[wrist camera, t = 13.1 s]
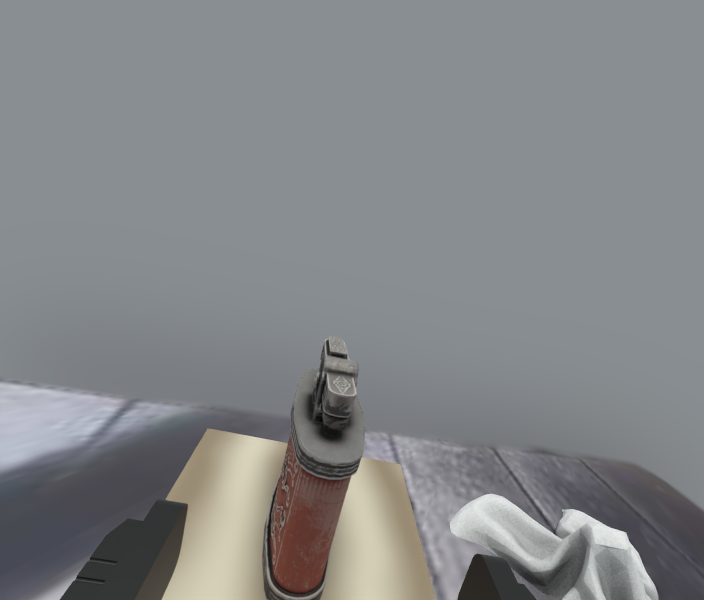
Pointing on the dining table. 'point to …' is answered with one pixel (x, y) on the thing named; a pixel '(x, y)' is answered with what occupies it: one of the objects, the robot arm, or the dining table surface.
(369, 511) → the base block
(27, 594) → the dining table surface
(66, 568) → the dining table surface
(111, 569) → the robot arm
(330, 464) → the lighter
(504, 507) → the cloth
